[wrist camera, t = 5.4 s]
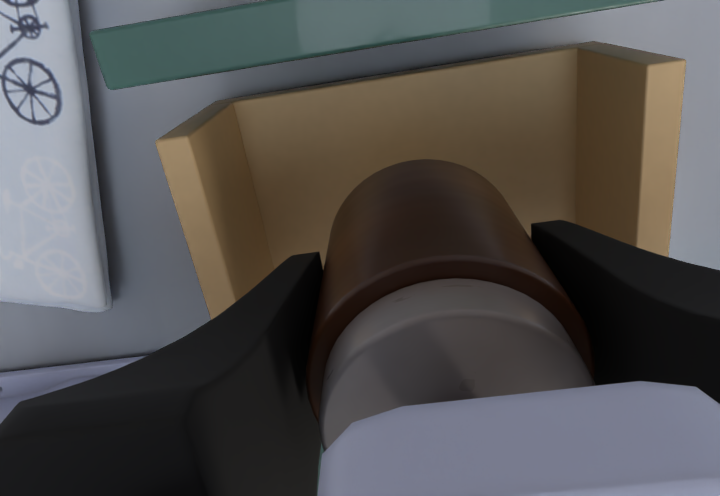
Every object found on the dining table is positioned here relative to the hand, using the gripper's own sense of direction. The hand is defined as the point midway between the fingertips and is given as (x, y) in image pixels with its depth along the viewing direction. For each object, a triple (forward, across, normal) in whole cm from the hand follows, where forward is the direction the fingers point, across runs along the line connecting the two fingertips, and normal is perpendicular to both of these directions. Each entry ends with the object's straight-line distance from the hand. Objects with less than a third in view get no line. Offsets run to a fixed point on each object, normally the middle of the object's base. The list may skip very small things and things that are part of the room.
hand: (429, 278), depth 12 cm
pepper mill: (+2, 0, 0) cm, 2 cm away
